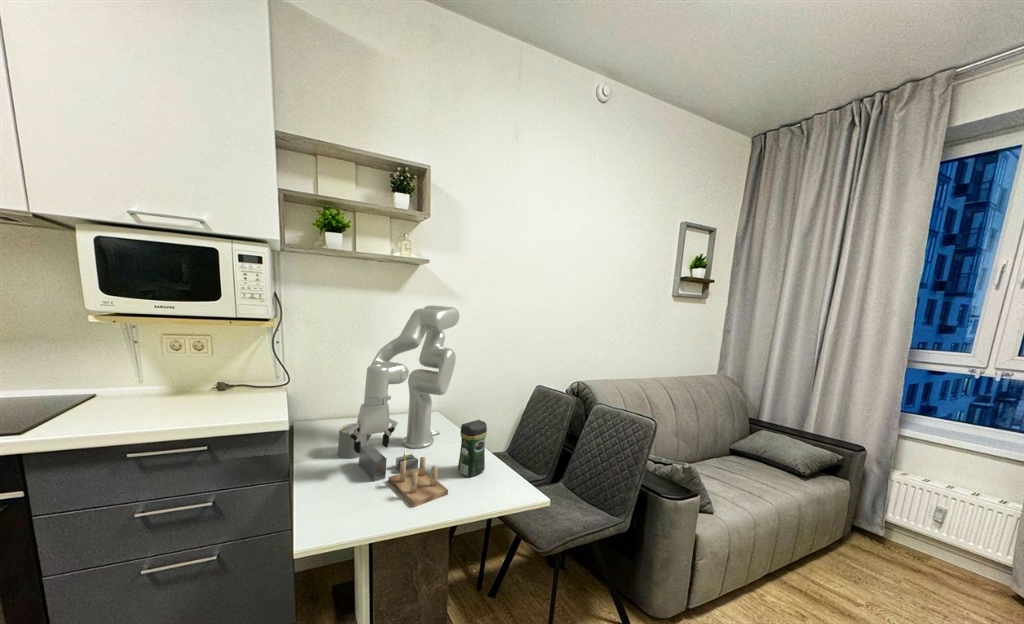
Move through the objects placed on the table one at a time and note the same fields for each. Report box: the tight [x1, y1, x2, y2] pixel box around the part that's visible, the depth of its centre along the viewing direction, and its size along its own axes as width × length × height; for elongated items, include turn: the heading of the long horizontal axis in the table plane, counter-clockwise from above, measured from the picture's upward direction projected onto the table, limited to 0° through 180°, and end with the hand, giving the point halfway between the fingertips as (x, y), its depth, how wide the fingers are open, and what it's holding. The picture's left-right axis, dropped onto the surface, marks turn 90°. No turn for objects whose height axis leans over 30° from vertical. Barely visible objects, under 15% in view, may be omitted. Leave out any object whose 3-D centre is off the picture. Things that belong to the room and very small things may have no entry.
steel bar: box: [358, 444, 388, 483], centre depth 124 cm, size 4×14×7 cm, turn 43°
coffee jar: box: [457, 419, 488, 478], centre depth 129 cm, size 10×8×19 cm
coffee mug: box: [337, 422, 372, 460], centre depth 138 cm, size 13×10×10 cm
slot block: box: [395, 451, 419, 472], centre depth 128 cm, size 6×5×6 cm
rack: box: [388, 456, 449, 508], centre depth 115 cm, size 12×18×8 cm, turn 43°
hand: (371, 449), depth 123 cm, fingers open, 9 cm apart
